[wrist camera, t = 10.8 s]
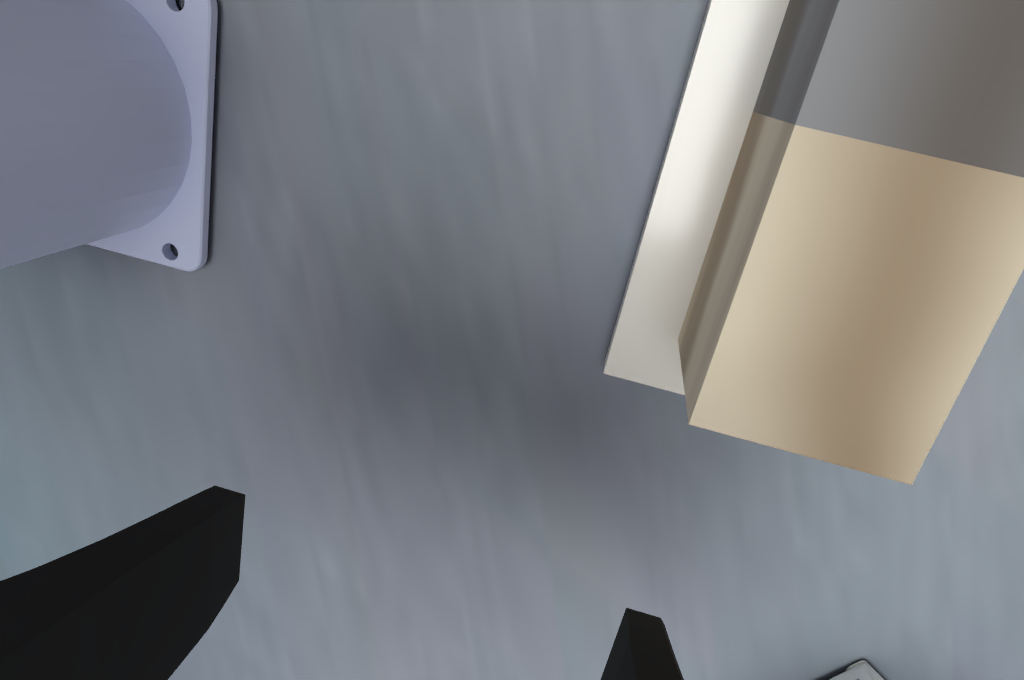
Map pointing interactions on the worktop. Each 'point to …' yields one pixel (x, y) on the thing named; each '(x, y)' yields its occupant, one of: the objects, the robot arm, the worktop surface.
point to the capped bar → (864, 232)
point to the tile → (692, 187)
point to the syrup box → (859, 672)
